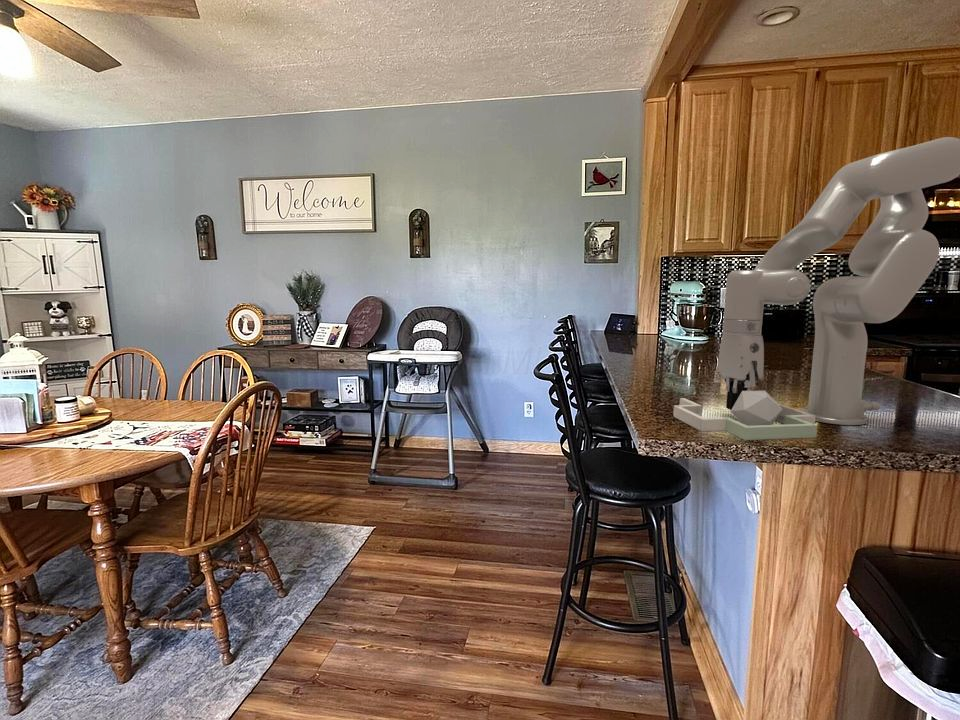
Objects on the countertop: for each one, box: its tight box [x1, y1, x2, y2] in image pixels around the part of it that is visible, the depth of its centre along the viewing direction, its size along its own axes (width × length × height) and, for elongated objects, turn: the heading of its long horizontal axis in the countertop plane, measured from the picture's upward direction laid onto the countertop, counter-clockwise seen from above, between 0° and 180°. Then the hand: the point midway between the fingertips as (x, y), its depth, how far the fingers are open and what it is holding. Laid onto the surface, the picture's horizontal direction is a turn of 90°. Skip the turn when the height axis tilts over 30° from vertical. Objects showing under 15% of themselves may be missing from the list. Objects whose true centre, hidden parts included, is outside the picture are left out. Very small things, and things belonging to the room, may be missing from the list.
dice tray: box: [673, 397, 818, 441], centre depth 110 cm, size 25×26×2 cm
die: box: [730, 390, 782, 426], centre depth 104 cm, size 8×9×10 cm
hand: (734, 409), depth 111 cm, fingers closed
